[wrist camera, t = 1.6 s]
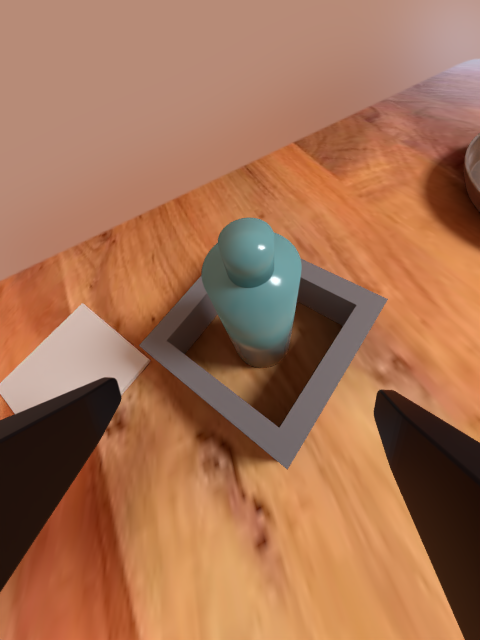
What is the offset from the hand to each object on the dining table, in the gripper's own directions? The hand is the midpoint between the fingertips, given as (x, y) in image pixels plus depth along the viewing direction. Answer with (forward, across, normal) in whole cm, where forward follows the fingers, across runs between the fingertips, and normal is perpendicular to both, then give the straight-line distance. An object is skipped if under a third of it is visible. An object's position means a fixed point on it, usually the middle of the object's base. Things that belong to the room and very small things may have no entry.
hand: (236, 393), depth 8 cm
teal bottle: (+13, 0, +4) cm, 14 cm away
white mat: (+10, +18, +7) cm, 22 cm away
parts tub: (+13, 0, +4) cm, 14 cm away
